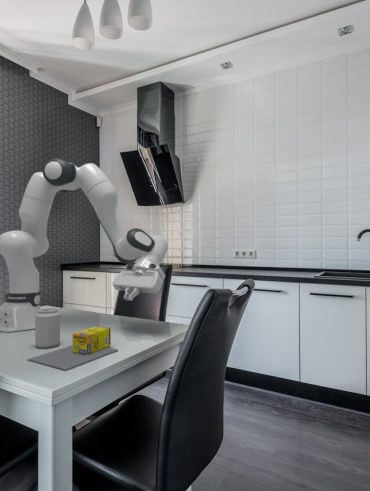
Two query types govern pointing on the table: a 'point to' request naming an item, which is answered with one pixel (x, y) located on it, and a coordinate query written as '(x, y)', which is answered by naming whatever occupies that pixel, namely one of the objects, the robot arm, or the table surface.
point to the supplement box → (91, 340)
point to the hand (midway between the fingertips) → (127, 299)
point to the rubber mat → (69, 358)
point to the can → (47, 328)
